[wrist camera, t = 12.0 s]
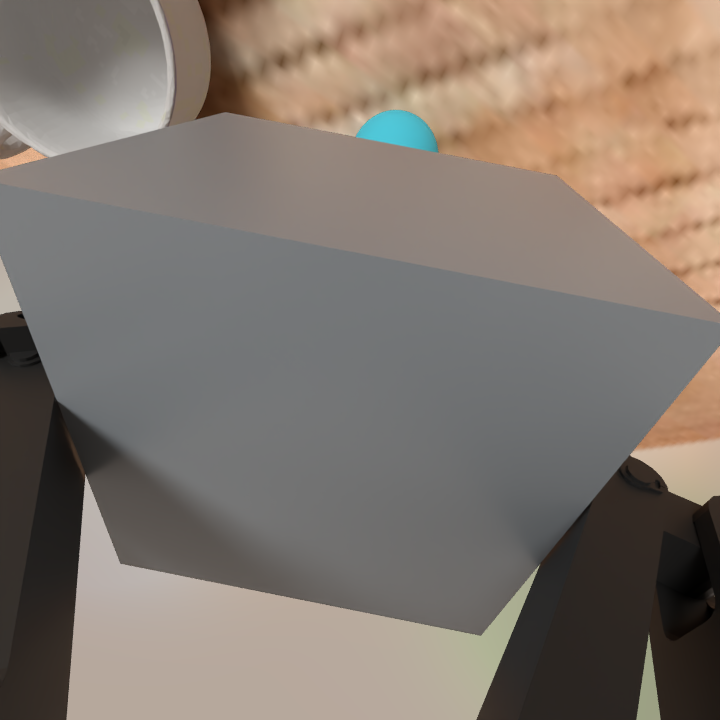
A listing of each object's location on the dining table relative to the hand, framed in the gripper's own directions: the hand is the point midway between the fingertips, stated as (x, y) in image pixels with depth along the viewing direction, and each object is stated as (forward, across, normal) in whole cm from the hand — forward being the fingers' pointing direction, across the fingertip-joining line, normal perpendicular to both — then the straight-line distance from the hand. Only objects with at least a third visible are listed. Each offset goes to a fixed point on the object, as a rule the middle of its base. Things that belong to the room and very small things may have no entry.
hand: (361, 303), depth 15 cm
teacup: (+15, -17, +5) cm, 23 cm away
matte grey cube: (+1, 0, 0) cm, 1 cm away
